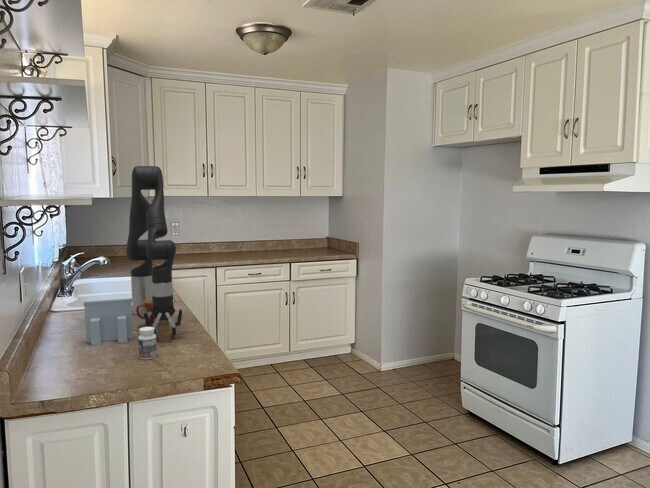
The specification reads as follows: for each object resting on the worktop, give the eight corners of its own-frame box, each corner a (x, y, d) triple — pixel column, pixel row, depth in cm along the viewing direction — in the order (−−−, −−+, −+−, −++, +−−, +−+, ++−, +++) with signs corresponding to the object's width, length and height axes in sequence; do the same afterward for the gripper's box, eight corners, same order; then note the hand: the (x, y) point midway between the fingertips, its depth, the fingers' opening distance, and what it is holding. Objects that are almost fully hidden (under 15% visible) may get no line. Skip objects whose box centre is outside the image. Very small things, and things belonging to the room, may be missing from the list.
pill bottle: (139, 355, 169) (137, 327, 168) (156, 353, 171) (155, 325, 170) (139, 360, 164) (137, 331, 163) (157, 358, 166) (156, 330, 165)
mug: (161, 320, 212) (161, 297, 210) (169, 325, 205) (169, 301, 204) (133, 325, 204) (132, 301, 203) (140, 330, 197) (139, 305, 196)
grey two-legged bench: (86, 341, 183) (84, 301, 182) (133, 337, 189) (132, 298, 187) (84, 346, 178) (82, 305, 176) (133, 341, 184) (131, 301, 182)
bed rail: (157, 332, 195) (157, 317, 194) (168, 331, 196) (167, 316, 196) (158, 343, 182) (158, 327, 181) (170, 342, 183) (170, 326, 183)
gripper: (181, 290, 190) (183, 333, 192) (141, 293, 185) (143, 336, 187) (183, 294, 183) (184, 338, 185) (142, 297, 178) (143, 342, 180)
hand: (164, 337), depth 186 cm, fingers open, 5 cm apart
